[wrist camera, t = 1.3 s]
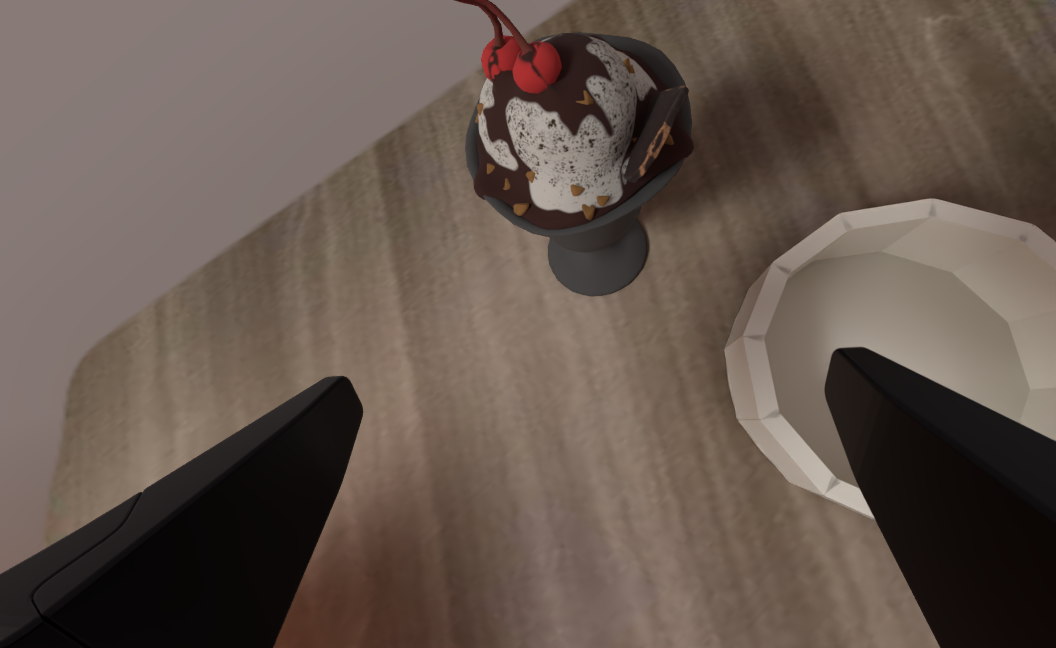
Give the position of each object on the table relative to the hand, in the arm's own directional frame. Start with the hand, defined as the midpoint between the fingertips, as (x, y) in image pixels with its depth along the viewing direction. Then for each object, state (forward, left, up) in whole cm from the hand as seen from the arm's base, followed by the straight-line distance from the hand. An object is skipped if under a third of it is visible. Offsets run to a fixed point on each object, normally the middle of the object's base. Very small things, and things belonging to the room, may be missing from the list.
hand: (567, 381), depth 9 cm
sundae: (+3, -7, -14) cm, 16 cm away
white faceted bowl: (-10, -6, -13) cm, 17 cm away
